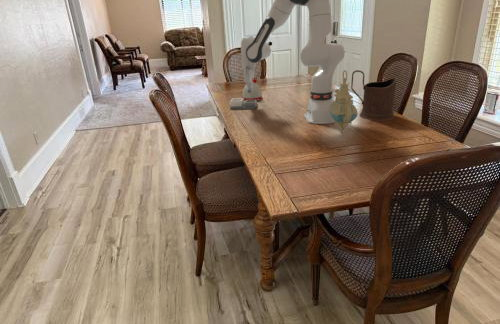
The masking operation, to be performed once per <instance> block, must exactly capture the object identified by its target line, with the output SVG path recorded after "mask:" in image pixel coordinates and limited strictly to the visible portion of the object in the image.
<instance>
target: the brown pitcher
mask: <svg viewBox="0 0 500 324" xmlns="http://www.w3.org/2000/svg"><path fill="white" fill-rule="evenodd" d="M355 73H361V74H362V86H363V87H362V88H363V89H362V90H363V98H362V97H361V96H360V95H359V94H358V93H357V91H356V90H354V88H353V86H354V85H353V83H354V74H355ZM396 86H397V78H390V79H388V80H384V81H373V82H372V81H371V82H368V83H365V73H364V72H363V71H362V70H357V69H356V70H354V71H352V74H351V85H350V87H351V91H352V92H353V93H354V94H355V95H356V97H358V99H359V100H361V105H362V109H361V111H360V113H359V114H358V115H359V117H360V118H362V119H364V120H369V121H377V122H380V121H381V122H383V121H385V122H386V121H390V120H393V119H394V118H395V115H394V111H393V109H394V101H395V96H396V95H395V94H396Z"/></svg>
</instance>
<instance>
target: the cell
mask: <svg viewBox="0 0 500 324" xmlns="http://www.w3.org/2000/svg"><path fill="white" fill-rule="evenodd" d="M253 80H254V78H253V79H252V80H251V82H250V85H251V88H248V86H247V92H248V93H251V92H253ZM246 85H247V83H246V84H245V86H246Z"/></svg>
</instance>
